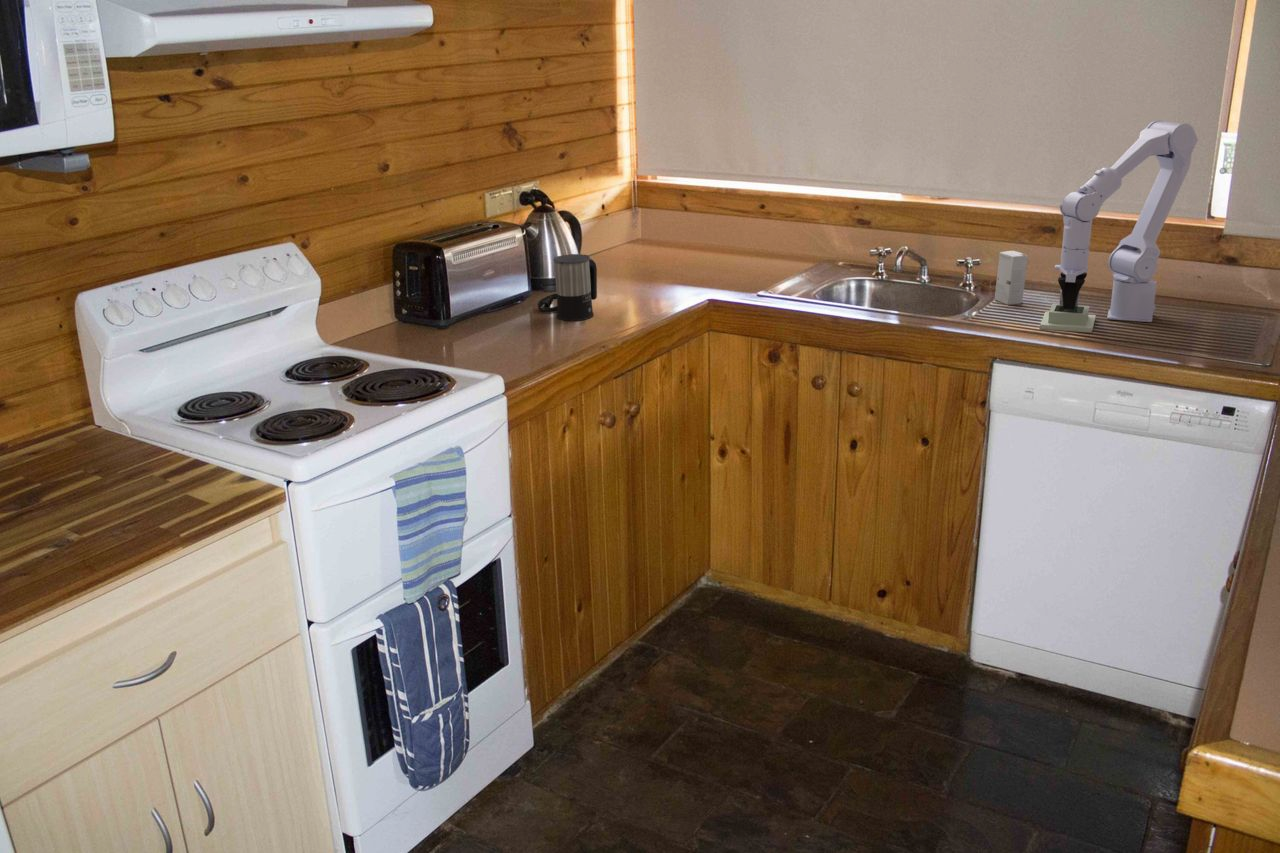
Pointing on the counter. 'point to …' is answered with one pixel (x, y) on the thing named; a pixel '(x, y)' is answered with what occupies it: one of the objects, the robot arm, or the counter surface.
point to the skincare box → (1011, 277)
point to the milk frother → (573, 288)
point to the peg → (1061, 309)
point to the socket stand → (1068, 320)
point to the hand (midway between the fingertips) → (1069, 306)
